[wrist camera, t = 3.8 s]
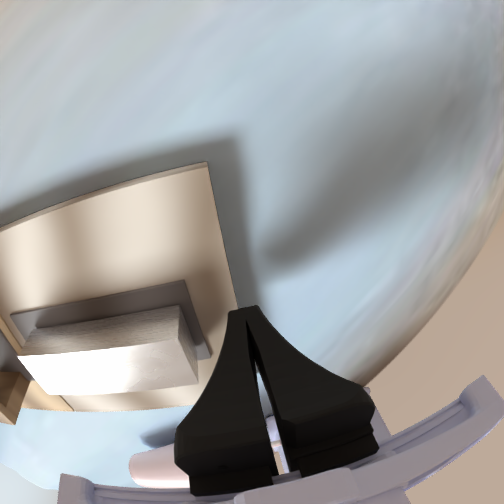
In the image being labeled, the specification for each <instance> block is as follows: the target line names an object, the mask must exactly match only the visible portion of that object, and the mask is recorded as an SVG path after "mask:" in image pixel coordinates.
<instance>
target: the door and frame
mask: <svg viewBox="0 0 504 504" xmlns="http://www.w3.org/2000/svg"><path fill="white" fill-rule="evenodd" d="M176 305H180V307H181V310H182V313H183V315H184V318H185V321H186V323H187V326H188V328H189V331H190V334H191V336H192V339H193V341H194V344H195V346H196V348H197V356H198V377H199V384H194V385H188V386H181V387H173V388H165V389H157V390H148V391H137V392H125V393H109V394H80V395H57V394H48V393H47V392H46V391H45V390H44V388H43V387H42V386H41V385H40V384H39V383H38V382H37V380H36V379H35V378H34V377H33V376H32V374H31V373H30V372H29V371H28V369H27V368H26V367H25V366H24V364H23V363H22V362H21V360H20V359H19V358H18V356H19V354H20V352H21V350H22V348H23V346H24V344H25V342H26V340H27V338H28V336H29V335H30V333H31V331H32V329H39V328H47V327H54V326H60V325H67V324H74V323H80V322H86V321H92V320H99V319H105V318H110V317H116V316H122V315H128V314H133V313H139V312H144V311H150V310H155V309H160V308H166V307H171V306H176ZM236 309H238V305H237V301H236V297H235V292H234V288H233V283H232V279H231V275H230V270H229V266H228V261H227V257H226V252H225V247H224V243H223V238H222V233H221V229H220V224H219V219H218V214H217V210H216V205H215V200H214V195H213V190H212V185H211V180H210V175H209V170H208V165H207V161H206V162H202V163H197V164H193V165H188V166H184V167H180V168H175V169H171V170H167V171H163V172H159V173H155V174H151V175H148V176H144V177H140V178H137V179H133V180H130V181H126V182H123V183H119V184H116V185H113V186H109V187H106V188H103V189H100V190H97V191H94V192H91V193H88V194H85V195H82V196H79V197H76V198H73V199H70V200H67V201H65V202H62V203H59V204H56V205H54V206H51V207H48V208H46V209H43V210H41V211H38V212H36V213H33V214H31V215H28V216H26V217H24V218H21V219H19V220H16V221H14V222H12V223H10V224H7V225H5V226H3V227H1V228H0V422H1V423H6V424H11V425H15V424H16V421H17V418H18V414H19V412H20V409H21V408H30V409H40V410H53V411H74V410H75V411H76V412H111V411H134V410H149V409H160V408H170V407H179V406H187V405H194V404H195V403H196V402H197V400H198V399H199V397H200V395H201V394H202V392H203V390H204V389H205V387H206V385H207V383H208V381H209V379H210V377H211V375H212V373H213V370H214V368H215V365H216V363H217V360H218V357H219V354H220V351H221V348H222V345H223V341H224V337H225V332H226V327H227V319H228V312H229V311H231V310H236Z"/></svg>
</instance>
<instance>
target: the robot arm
mask: <svg viewBox="0 0 504 504" xmlns="http://www.w3.org/2000/svg"><path fill="white" fill-rule="evenodd" d="M254 359H255V360H254ZM255 362H256V364H257V367H258V370H259V373H260V375H261V378H262V381H263V383H264V386H265V389H266V391H267V394H268V397H269V400H270V403H271V406H272V410H273V414H274V416H271V417H268V418H267V419H266V423H267V426H268V430H269V434H270V438H271V441H272V442H273V441H276V440H279V439H280V440H281V444H282V445H281V446H278V447H274V448H273V449H274V451H279V454H280V458H281V462H282V465H283V469H284V472H285V474H281V475H279V473H278V469H277V466H276V462H275V458H274V454H273V450H272V446H271V443H270V439H269V435H268V431H267V427H266V423H265V419H264V415H263V411H262V407H261V402H260V396H259V389H258V382H257V374H256V367H255ZM369 393H370V389H369V388H368V387H364V388H363V387H362V386H361V385H359V384H356V383H354V382H351V381H349V380H346V379H344V378H342V377H340V376H338V375H336V374H334V373H332V372H330V371H328V370H326V369H325V368H323V367H321V366H320V365H318V364H316V363H315V362H313V361H312V360H310V359H309V358H307V357H306V356H305V355H303V354H302V353H301V352H299V351H298V350H297V349H296V348H294V347H293V346H292V345H291V344H290V343H289V342H288V341H287V340H286V339H285V338H284V337H283V336H282V335H281V334H280V333H279V332H278V331H277V330H276V329H275V328H274V327H273V326H272V324H271V323H270V322H269V321H268V320H267V318H266V317H265V316H264V314H263V313H262V311H261V309H260V308H259V306H257V305H254V306H250V307H245V308H241V309H236V310H231V311H229V312H228V319H227V327H226V332H225V337H224V341H223V345H222V348H221V351H220V354H219V357H218V360H217V363H216V365H215V368H214V370H213V373H212V375H211V377H210V379H209V381H208V383H207V385H206V387H205V389H204V390H203V392H202V394H201V395H200V397H199V399H198V400H197V402H196V403H195V405H194V406H193V408H192V409H191V411H190V412H189V413H188V414H187V416H186V417H185V418H184V419H183V421H182V422H181V423H180V424H179V426H178V427H177V430H176V434H175V440H174V463H175V464H176V466H177V467H179V468H180V469H181V470H182V471H183V472H185V473H186V474H187V475H188V476H189V485H190V488H131V487H117V486H107V485H99V484H94V483H93V482H91V481H90V480H88V479H86V478H83V477H79V476H74V475H68V474H63V473H62V474H61V476H60V483H59V492H58V502H57V504H411V503H410V501H409V500H408V498H407V496H406V494H405V492H404V491H406V490H408V489H410V488H411V487H413V486H415V485H417V484H419V483H420V482H422V481H424V480H425V479H427V478H428V477H430V476H432V475H433V474H435V473H436V472H438V471H439V470H441V469H442V468H444V467H445V466H447V465H448V464H450V463H451V462H452V461H454V460H455V459H457V458H458V457H459V456H461V455H462V454H463V453H465V452H466V451H467V450H469V449H470V448H471V447H473V446H474V445H475V444H476V443H478V442H479V441H480V440H481V439H482V438H484V437H485V436H486V435H487V434H488V433H489V432H490V431H491V430H492V429H493V428H494V427H495V426H496V425H497V424H498V423H499V422H500V421H501V420H502V419H503V418H504V400H503V399H502V397H501V396H500V395H499V394H498V392H497V391H496V390H495V388H494V387H493V386H492V385H491V383H490V382H489V381H488V380H487V378H486V377H485V376H484V375H482V376H481V377H479V378H478V379H476V380H475V381H474V382H472V383H471V384H469V385H468V386H467V387H466V388H465V389H464V390H463V392H462V393H461V394H460V396H459V398H458V399H456V400H455V401H453V402H452V403H450V404H449V405H447V406H446V407H444V408H442V409H441V410H439V411H437V412H436V413H434V414H432V415H431V416H429V417H428V418H426V419H424V420H422V421H420V422H418V423H416V424H415V425H413V426H411V427H409V428H407V429H405V430H403V431H401V432H399V433H397V434H395V435H393V436H391V434H390V432H389V430H388V428H387V426H386V425H385V423H384V421H383V419H382V417H381V415H380V413H379V412H378V410H377V408H376V406H375V405H374V402H373V401H372V399H371V397H370V395H369Z"/></svg>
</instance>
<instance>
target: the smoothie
mask: <svg viewBox="0 0 504 504" xmlns="http://www.w3.org/2000/svg"><path fill="white" fill-rule="evenodd" d="M270 443H271V446H272V448H274V447H278V446H281V445H282V444H281V440H280V439H279V440H276V441H273V442H270ZM129 471H130V474H131V477H132V478H133V480H134V481H135V482H136V483H137V484H138V485H140V486H143V487H150V488H190V485H189V476H188V475H187V474H186V473H185V472H183V471H182V470H181V469H180V468H179V467H177V466H176V464H175V463H174V443H173V444H170V445H166V446H163V447H160V448H156V449H152V450H149V451H145V452H141V453H137V454H134V455H133V456H132V457H131V458H130V461H129Z"/></svg>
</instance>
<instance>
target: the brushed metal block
mask: <svg viewBox="0 0 504 504" xmlns="http://www.w3.org/2000/svg"><path fill="white" fill-rule="evenodd" d="M18 358H19V359H20V360H21V362H22V363H23V364H24V366H25V367H26V368H27V369H28V371H29V372H30V373H31V374H32V376H33V377H34V378H35V379H36V380H37V382H38V383H39V384H40V385H41V386H42V387H43V388H44V390H45V391H46V392H47V393H48V394H57V395H80V394H109V393H125V392H137V391H148V390H157V389H165V388H173V387H181V386H188V385H194V384H199V377H198V356H197V348H196V346H195V344H194V341H193V339H192V336H191V334H190V331H189V328H188V326H187V323H186V321H185V318H184V315H183V313H182V310H181V307H180V305H176V306H171V307H166V308H160V309H155V310H150V311H144V312H139V313H133V314H128V315H122V316H116V317H110V318H105V319H99V320H92V321H86V322H80V323H74V324H67V325H60V326H54V327H47V328H39V329H32V331H31V333H30V335H29V336H28V338H27V340H26V342H25V344H24V346H23V348H22V350H21V352H20V354H19V356H18Z"/></svg>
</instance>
